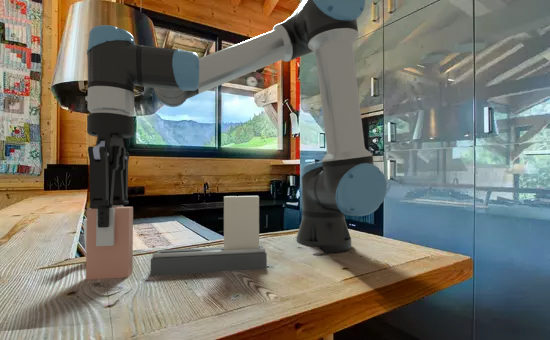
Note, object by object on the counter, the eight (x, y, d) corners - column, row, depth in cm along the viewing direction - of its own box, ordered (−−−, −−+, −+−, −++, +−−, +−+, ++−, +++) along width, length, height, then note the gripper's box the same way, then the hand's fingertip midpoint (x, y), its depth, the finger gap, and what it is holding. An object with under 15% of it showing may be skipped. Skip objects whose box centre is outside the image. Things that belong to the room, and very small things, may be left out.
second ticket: (257, 262, 61) (257, 195, 62) (259, 265, 59) (258, 196, 59) (223, 264, 60) (223, 196, 60) (223, 267, 58) (224, 197, 58)
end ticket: (132, 280, 55) (133, 206, 55) (128, 285, 53) (129, 208, 53) (91, 283, 54) (92, 207, 54) (85, 288, 51) (86, 208, 52)
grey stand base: (262, 266, 63) (262, 241, 64) (266, 276, 57) (266, 249, 57) (158, 272, 60) (158, 246, 60) (150, 283, 53) (150, 254, 53)
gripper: (107, 122, 62) (106, 234, 61) (64, 103, 45) (62, 256, 44) (145, 123, 63) (144, 232, 62) (117, 105, 46) (115, 253, 46)
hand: (110, 242), depth 53 cm, fingers open, 4 cm apart
